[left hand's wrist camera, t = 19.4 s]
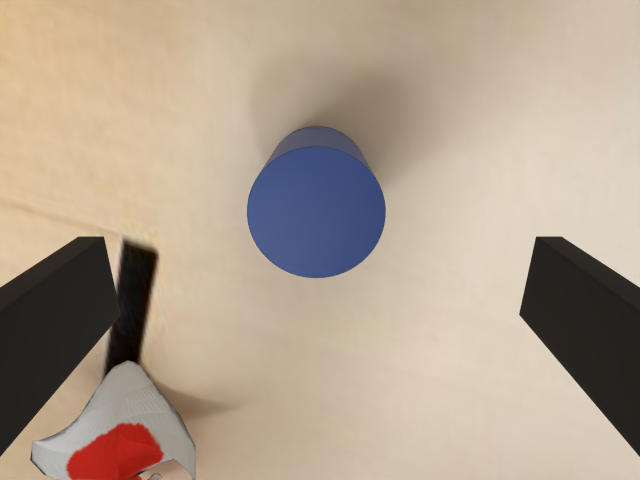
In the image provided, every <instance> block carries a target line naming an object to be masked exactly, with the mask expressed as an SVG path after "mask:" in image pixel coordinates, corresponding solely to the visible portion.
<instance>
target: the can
mask: <svg viewBox="0 0 640 480" xmlns="http://www.w3.org/2000/svg"><path fill="white" fill-rule="evenodd" d="M247 218H248V225H249V229H250V232H251V235H252V237H253V240H254V241H255V243H256V245H257V247H258V248H259V249H260V251H261V252H262V253H263V254H264V255H265V256H266V257H267V258H268V259H269V260H270V261H271V262H272V263H273V264H275V265H276V266H278V267H279V268H281V269H283V270H285V271H287V272H289V273H292V274H295V275H298V276H303V277H309V278H324V277H331V276H335V275H338V274H341V273H344V272H346V271H348V270H350V269H352V268H354V267H355V266H357V265H358V264H359V263H361V262H362V261H363V260H364V259H365V258H366V257H367V256H368V255H369V254H370V253H371V252H372V250H373V249H374V248H375V246H376V244H377V243H378V241H379V239H380V237H381V234H382V231H383V228H384V223H385V201H384V197H383V193H382V190H381V188H380V185H379V183H378V181H377V180H376V178H375V176H374V174H373V173H372V171H371V169H370V167H369V166H368V164H367V162H366V161H365V159H364V157H363V155H362V154H361V152H360V150H359V149H358V147H357V146H356V145H355V143H354V142H353V141H352V140H351V139H350V138H348V137H347V136H346V135H344V134H343V133H341V132H339V131H337V130H334V129H331V128H327V127H319V126H317V127H307V128H303V129H300V130H298V131H296V132H293V133H292V134H290V135H289V136H287V137H286V138H285V139H284V140H283V141H282V142H281V143H280V144H279V145H278V146H277V148H276V149H275V151H274V152H273V154H272V155H271V157H270V159H269V160H268V162H267V163H266V165H265V166H264V168H263V169H262V171H261V172H260V174H259V175H258V177H257V179H256V180H255V182H254V184H253V186H252V188H251V191H250V195H249V198H248V205H247Z"/></svg>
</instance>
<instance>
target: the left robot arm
mask: <svg viewBox="0 0 640 480" xmlns="http://www.w3.org/2000/svg"><path fill="white" fill-rule="evenodd" d="M120 315H121V314H120V309H119V304H118V300H117V295H116V290H115V286H114V281H113V277H112V272H111V267H110V263H109V258H108V254H107V249H106V244H105V240H104V237H77V238H76V239H74V240H73V241H71V242H70V243H68V244H67V245H65V246H63V247H62V248H60V249H59V250H57V251H56V252H54V253H53V254H51V255H50V256H48V257H47V258H45V259H43V260H42V261H40V262H39V263H37V264H36V265H34V266H33V267H31V268H30V269H28V270H27V271H25V272H23V273H22V274H20V275H19V276H17V277H16V278H14V279H13V280H11V281H10V282H8V283H7V284H5V285H3V286H2V287H0V456H1V455H2V454H3V453H4V452H5V450H6V449H7V448H8V447H9V446H10V445H11V443H12V442H13V441H14V440H15V439H16V437H17V436H18V435H19V434H20V433H21V432H22V430H23V429H24V428H25V427H26V426H27V424H28V423H29V422H30V421H31V420H32V419H33V417H34V416H35V415H36V414H37V413H38V412H39V410H40V409H41V408H42V407H43V406H44V404H45V403H46V402H47V401H48V400H49V399H50V397H51V396H52V395H53V394H54V393H55V391H56V390H57V389H58V388H59V387H60V386H61V384H62V383H63V382H64V381H65V380H66V379H67V377H68V376H69V375H70V374H71V373H72V371H73V370H74V369H75V368H76V367H77V366H78V364H79V363H80V362H81V361H82V360H83V358H84V357H85V356H86V355H87V354H88V353H89V351H90V350H91V349H92V348H93V347H94V346H95V344H96V343H97V342H98V341H99V340H100V338H101V337H102V336H103V335H104V334H105V333H106V331H107V330H108V329H109V328H110V327H111V325H112V324H113V323H114V322H115V321H116V320H117V318H118V317H119V316H120ZM519 315H520V316H521V317H522V318H523V320H524V321H525V322H526V323H527V324H528V325H529V327H530V328H531V329H532V330H533V331H534V333H535V334H536V335H537V336H538V337H539V338H540V340H541V341H542V342H543V343H544V344H545V346H546V347H547V348H548V349H549V350H550V351H551V353H552V354H553V355H554V356H555V357H556V358H557V360H558V361H559V362H560V363H561V364H562V366H563V367H564V368H565V369H566V370H567V371H568V373H569V374H570V375H571V376H572V377H573V379H574V380H575V381H576V382H577V383H578V384H579V386H580V387H581V388H582V389H583V390H584V391H585V393H586V394H587V395H588V396H589V397H590V399H591V400H592V401H593V402H594V403H595V404H596V406H597V407H598V408H599V409H600V410H601V412H602V413H603V414H604V415H605V416H606V417H607V419H608V420H609V421H610V422H611V423H612V424H613V426H614V427H615V428H616V429H617V430H618V432H619V433H620V434H621V435H622V436H623V437H624V439H625V440H626V441H627V442H628V443H629V445H630V446H631V447H632V448H633V449H634V450H635V452H636V453H637V454H638V455H639V456H640V287H638V286H637V285H635V284H633V283H632V282H630V281H629V280H627V279H626V278H624V277H623V276H621V275H620V274H618V273H617V272H615V271H613V270H612V269H610V268H609V267H607V266H606V265H604V264H603V263H601V262H600V261H598V260H597V259H595V258H593V257H592V256H590V255H589V254H587V253H586V252H584V251H583V250H581V249H580V248H578V247H577V246H575V245H573V244H572V243H570V242H569V241H567V240H566V239H564V238H563V237H536V240H535V244H534V249H533V254H532V258H531V263H530V267H529V272H528V277H527V281H526V286H525V290H524V295H523V300H522V304H521V309H520V314H519Z"/></svg>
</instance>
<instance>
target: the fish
mask: <svg viewBox="0 0 640 480" xmlns="http://www.w3.org/2000/svg"><path fill="white" fill-rule="evenodd" d="M172 459H175V460H176V461H177V462H178V463H179V464H181V465H182V466H183V467H184V468H185V470H186V471H187V472H188V473H189V474H190V475H191V477H192V478H193V480H196V471H195V445H194V443H193V441H192V439H191V437H190V435H189V433H188V431H187V429H186V427H185V425H184V423H183V421H182V418H181V416H180V415H179V413H178V412H177V411H176V410H175V408H174V407H173V406H172V405H171V403H170V402H169V401H168V400H167V398H166V397H165V396H164V395H163V394H162V392H161V391H160V390H159V389H158V388H157V387H156V385H155V384H154V383H153V381H152V380H151V378H150V377H149V375H148V374H147V373H146V372H145V371H144V370H143V368H142V367H141V366H139V365H138V364H136V363H134V362H132V361H126V362H123V363H121V364H119V365H117V366H115V367H113V368H112V370H111V371H110V372H109V373H108V374H107V375H106V377H105V378H104V379H103V381H102V382H101V384H100V385H99V386H98V388H97V389H96V391H95V392H94V394H93V395H92V397H91V398H90V400H89V402H88V403H87V405H86V407H85V408H84V410H83V412H82V413H81V415H80V416H79V417H78V418H77V419H76V420H75V421H74V422H73V423H72V424H71V425H70V426H68V427H67V428H65V429H63V430H62V431H60V432H58V433H57V434H55V435H53V436H50V437H47V438H45V439H42V440H39V441H33V443H32V451H31V458H30V460H31V461H32V462H33V463H34V464H35V465H36V467H37V468H38V469H39V470H40V471H41V472H42V473H43V474H44V475H47V476H50V477H52V478H55V479H58V480H142V479H141V477H139V476H138V475H139V474H141V473H143V472H145V471H146V470H148V469H150V468H152V467H154V466H155V465H157V464H159V463H161V462H165V461H169V460H172ZM161 478H162V476H161V475H160V474H153V475H152V476H151V477H150V478H149V479H148V480H161Z"/></svg>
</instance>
